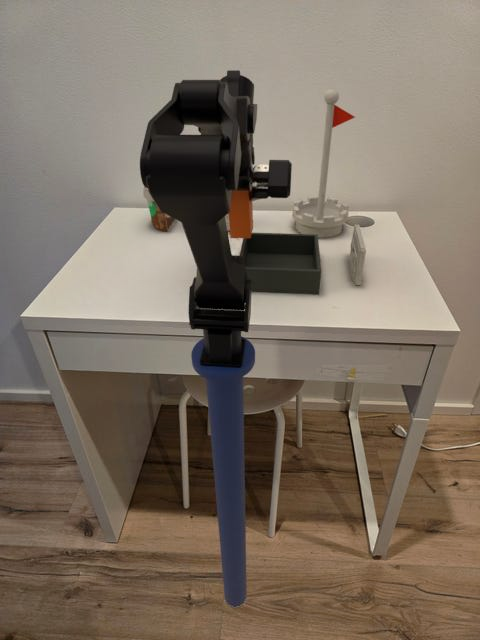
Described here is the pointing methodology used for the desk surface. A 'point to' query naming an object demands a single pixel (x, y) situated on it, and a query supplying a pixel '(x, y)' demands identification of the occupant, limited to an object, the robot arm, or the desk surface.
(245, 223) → the block
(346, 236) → the desk surface
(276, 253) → the open storage bin
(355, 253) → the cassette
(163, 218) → the food container
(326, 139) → the flag stand
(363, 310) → the desk surface
